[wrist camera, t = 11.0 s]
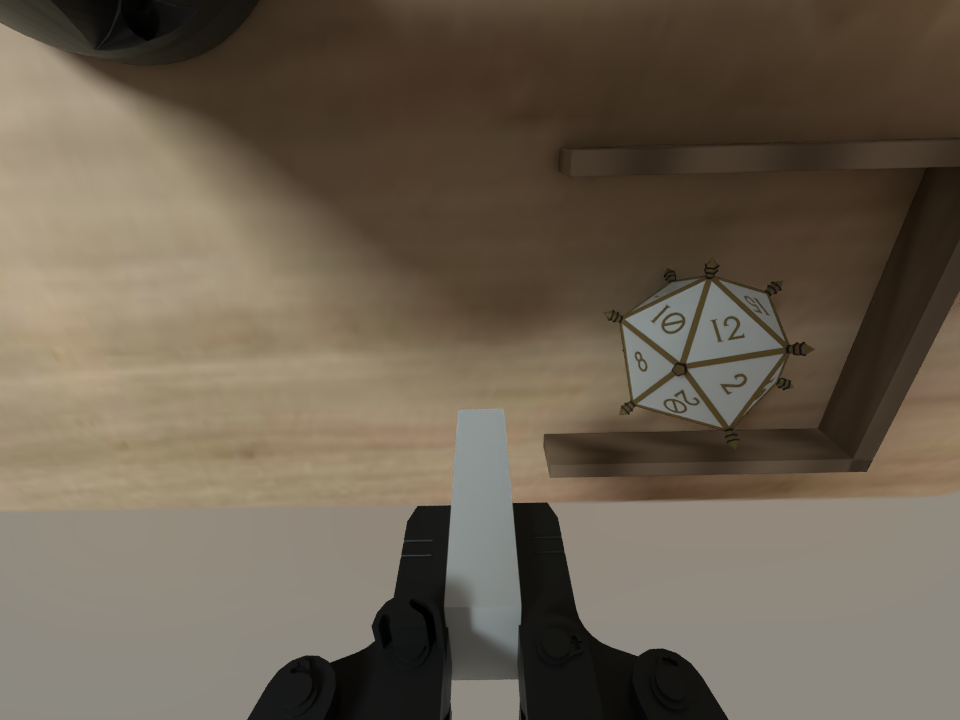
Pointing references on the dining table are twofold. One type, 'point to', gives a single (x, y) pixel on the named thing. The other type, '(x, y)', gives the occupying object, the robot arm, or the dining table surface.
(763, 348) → the game die
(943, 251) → the walnut bay
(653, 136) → the dining table surface
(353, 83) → the dining table surface
